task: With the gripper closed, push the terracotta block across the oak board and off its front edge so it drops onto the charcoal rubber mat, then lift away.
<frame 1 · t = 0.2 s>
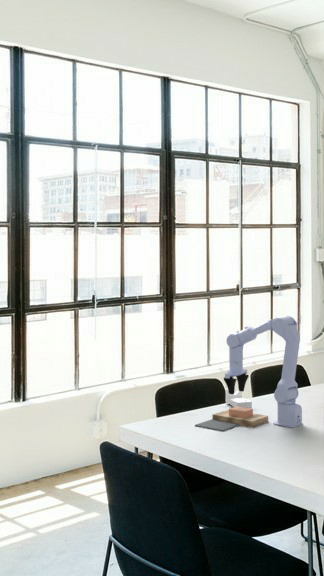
hand: (236, 392, 294), 10 cm above the table, fingers open, 7 cm apart
mat: (217, 425, 277), on the table
board: (240, 421, 284), on the table
block: (240, 414, 284), point 2 cm above the table, touching board
bracket: (238, 407, 312), on the table
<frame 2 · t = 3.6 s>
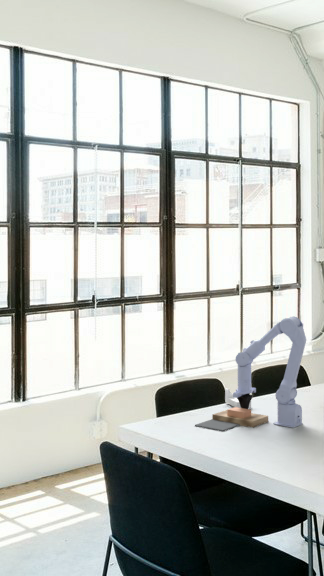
hand: (244, 411, 287), 3 cm above the table, fingers closed
block: (239, 415, 283), point 3 cm above the table, touching board
everything else where it was.
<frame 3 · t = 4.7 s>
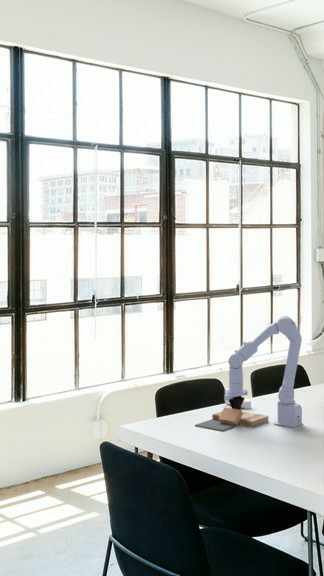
hand: (236, 414, 282), 3 cm above the table, fingers closed
block: (231, 418, 279), point 2 cm above the table, tilted 41°, touching mat
everything else where it was.
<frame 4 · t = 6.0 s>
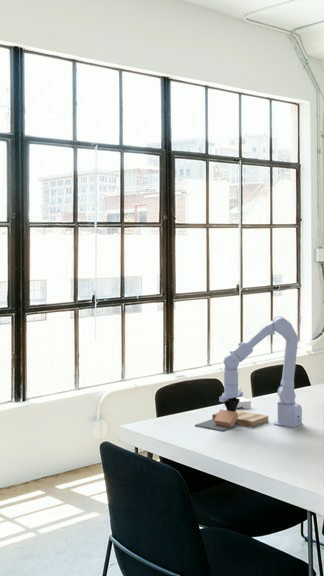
hand: (231, 416, 279), 3 cm above the table, fingers closed
block: (227, 420, 276), point 2 cm above the table, tilted 36°, touching gripper, mat
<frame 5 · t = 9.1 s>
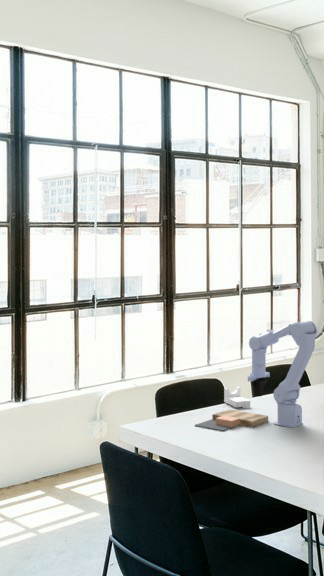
hand: (258, 395, 289), 9 cm above the table, fingers closed
block: (228, 424, 277), resting on mat
at the end: block touching mat; block inside the target area (4.7 cm from its centre), point 0.5 cm above the table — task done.
